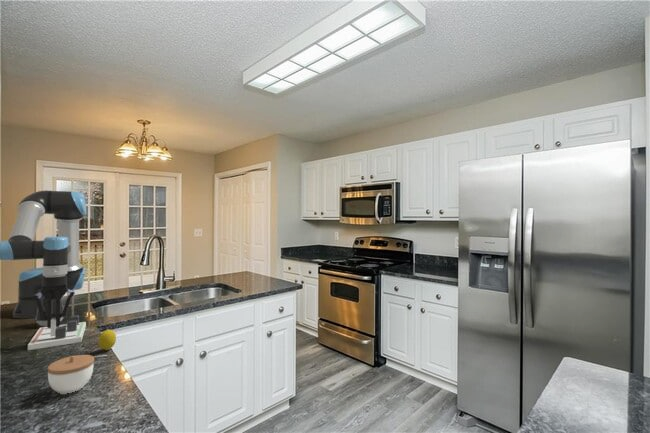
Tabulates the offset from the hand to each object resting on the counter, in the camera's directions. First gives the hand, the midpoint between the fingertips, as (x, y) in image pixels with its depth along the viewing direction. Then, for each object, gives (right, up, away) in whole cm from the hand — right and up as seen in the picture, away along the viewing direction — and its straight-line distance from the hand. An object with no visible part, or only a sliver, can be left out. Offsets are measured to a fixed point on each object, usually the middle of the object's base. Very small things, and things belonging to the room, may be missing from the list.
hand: (53, 335), depth 126 cm
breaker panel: (-4, -4, +7) cm, 9 cm away
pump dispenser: (-20, -4, +22) cm, 30 cm away
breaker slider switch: (+2, -1, +1) cm, 2 cm away
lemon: (+25, -4, -5) cm, 26 cm away
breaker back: (-5, -1, +16) cm, 17 cm away
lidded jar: (+33, -4, -32) cm, 46 cm away
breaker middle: (0, -1, +9) cm, 10 cm away
